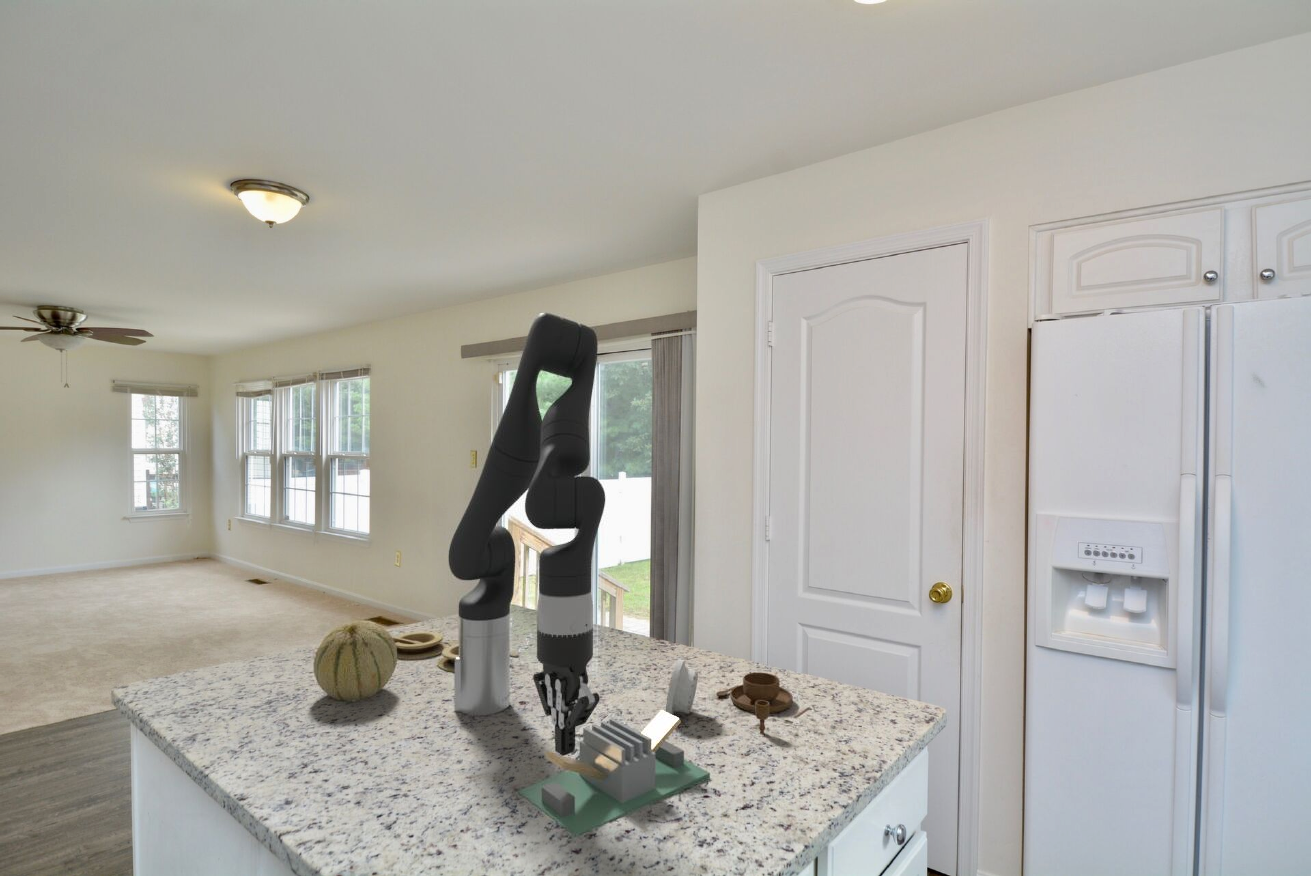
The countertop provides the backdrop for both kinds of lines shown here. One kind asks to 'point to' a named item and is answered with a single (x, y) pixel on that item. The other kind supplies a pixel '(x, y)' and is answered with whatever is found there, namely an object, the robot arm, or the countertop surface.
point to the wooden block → (661, 728)
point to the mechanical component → (681, 689)
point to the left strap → (575, 765)
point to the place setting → (761, 696)
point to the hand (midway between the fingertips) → (564, 751)
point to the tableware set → (428, 648)
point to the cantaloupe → (355, 660)
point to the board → (605, 804)
